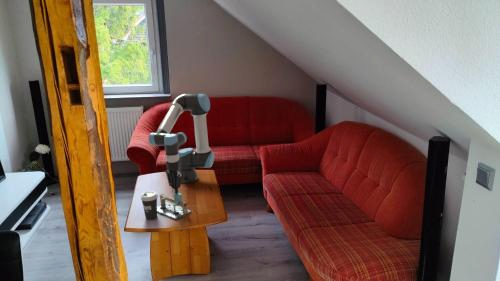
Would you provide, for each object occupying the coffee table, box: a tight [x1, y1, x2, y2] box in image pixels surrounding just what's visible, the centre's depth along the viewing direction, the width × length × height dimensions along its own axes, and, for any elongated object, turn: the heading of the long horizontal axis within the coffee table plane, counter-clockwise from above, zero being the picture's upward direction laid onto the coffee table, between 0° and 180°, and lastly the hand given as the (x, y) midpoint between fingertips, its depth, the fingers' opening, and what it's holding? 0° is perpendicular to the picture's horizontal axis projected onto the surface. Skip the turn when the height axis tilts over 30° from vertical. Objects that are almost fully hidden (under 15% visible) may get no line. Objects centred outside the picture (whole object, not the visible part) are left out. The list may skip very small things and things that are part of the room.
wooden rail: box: [159, 193, 189, 214], centre depth 223 cm, size 5×22×6 cm, turn 52°
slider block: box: [172, 192, 183, 213], centre depth 219 cm, size 6×3×10 cm, turn 142°
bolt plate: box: [157, 201, 192, 221], centre depth 224 cm, size 12×22×1 cm, turn 52°
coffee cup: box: [140, 190, 158, 221], centre depth 214 cm, size 10×10×15 cm
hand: (175, 197), depth 221 cm, fingers closed
